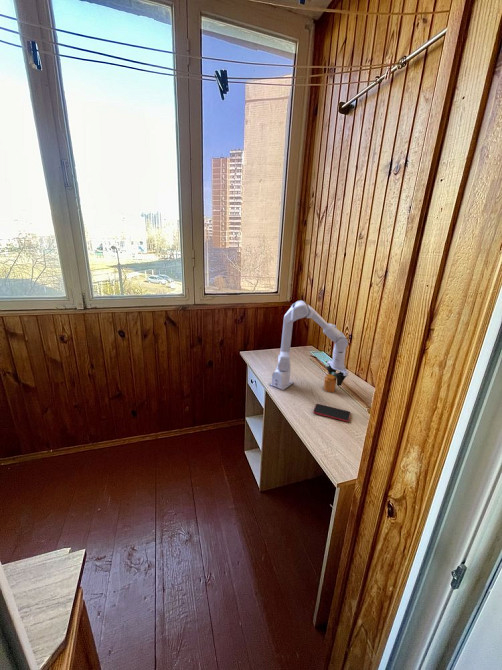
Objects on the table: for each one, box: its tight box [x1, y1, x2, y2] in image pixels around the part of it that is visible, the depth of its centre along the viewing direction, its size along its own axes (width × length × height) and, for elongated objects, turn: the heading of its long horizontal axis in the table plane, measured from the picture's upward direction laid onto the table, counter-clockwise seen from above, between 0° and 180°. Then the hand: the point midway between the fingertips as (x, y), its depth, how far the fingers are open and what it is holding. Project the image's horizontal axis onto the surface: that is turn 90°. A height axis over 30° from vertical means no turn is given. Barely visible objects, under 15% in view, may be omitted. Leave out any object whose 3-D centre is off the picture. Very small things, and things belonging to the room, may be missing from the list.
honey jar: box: [323, 373, 337, 393], centre depth 147 cm, size 6×6×7 cm
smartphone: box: [312, 403, 351, 423], centre depth 128 cm, size 7×1×15 cm
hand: (335, 382), depth 149 cm, fingers closed on honey lid, 5 cm apart
